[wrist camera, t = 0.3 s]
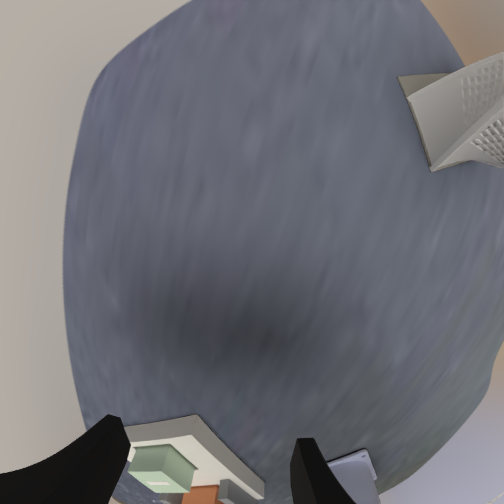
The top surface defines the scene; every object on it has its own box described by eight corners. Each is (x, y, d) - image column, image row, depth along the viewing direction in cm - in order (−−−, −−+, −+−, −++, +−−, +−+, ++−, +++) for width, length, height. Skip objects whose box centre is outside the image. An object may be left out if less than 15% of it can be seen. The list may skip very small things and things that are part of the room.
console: (264, 482, 23) (265, 516, 18) (192, 491, 24) (186, 520, 19) (196, 414, 20) (185, 457, 15) (118, 427, 21) (100, 460, 17)
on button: (195, 466, 19) (189, 492, 16) (162, 468, 20) (155, 492, 17) (170, 443, 19) (161, 471, 15) (137, 446, 19) (127, 471, 16)
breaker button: (235, 497, 21) (233, 519, 18) (205, 499, 22) (201, 521, 18) (217, 483, 20) (213, 508, 17) (185, 485, 21) (180, 508, 17)
